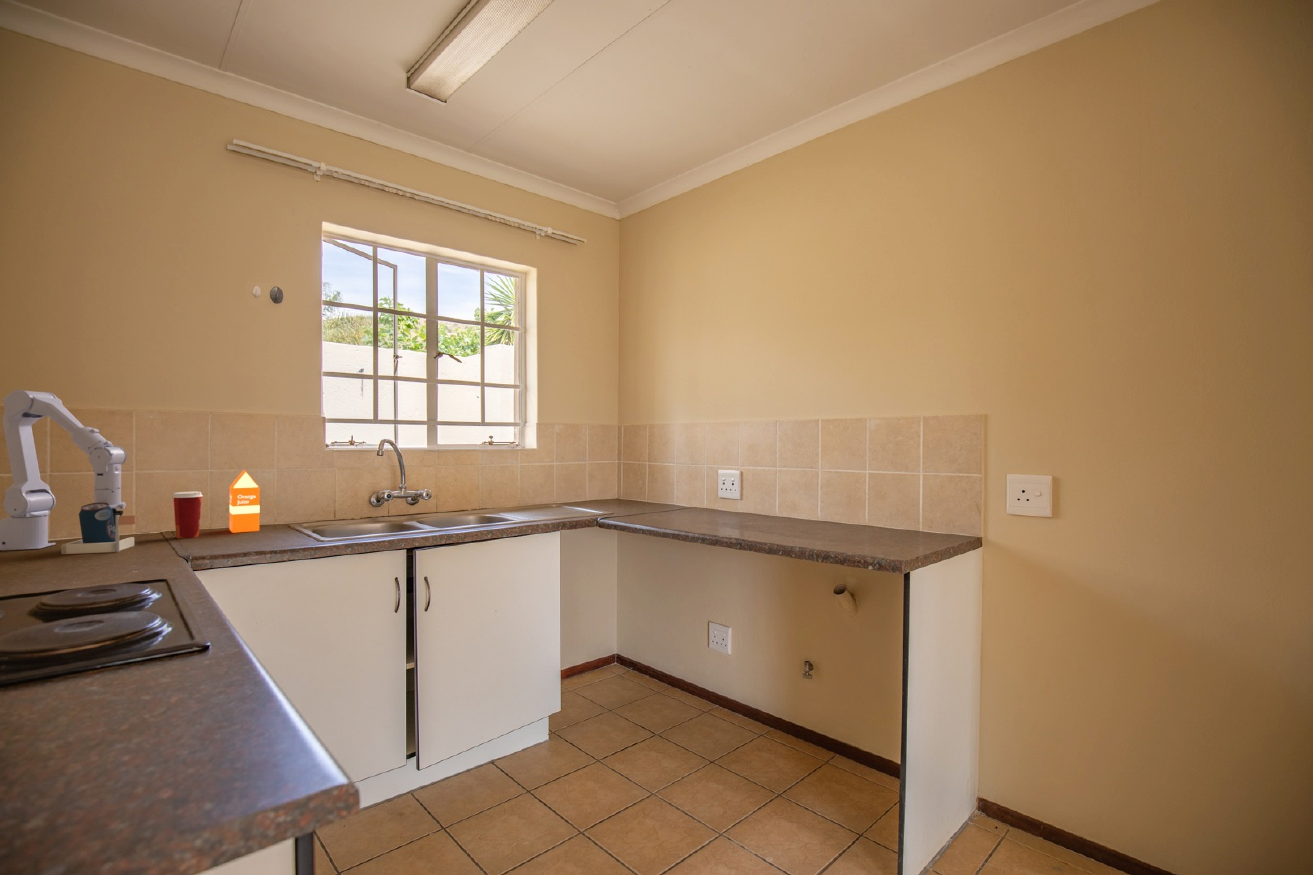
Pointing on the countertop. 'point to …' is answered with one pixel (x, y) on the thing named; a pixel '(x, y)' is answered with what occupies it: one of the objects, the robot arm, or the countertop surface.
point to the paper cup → (187, 514)
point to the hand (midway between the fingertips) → (107, 536)
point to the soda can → (97, 523)
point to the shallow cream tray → (102, 547)
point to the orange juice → (244, 504)
